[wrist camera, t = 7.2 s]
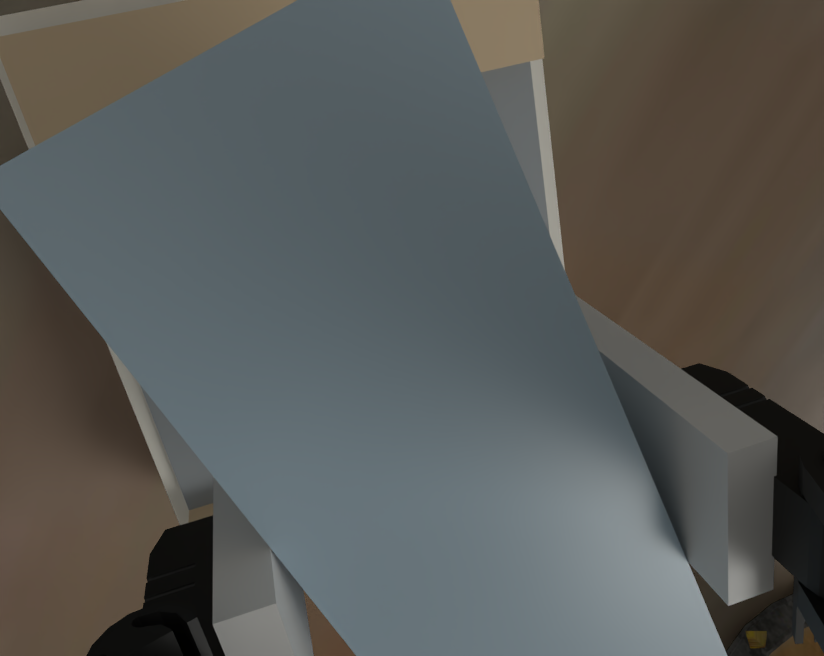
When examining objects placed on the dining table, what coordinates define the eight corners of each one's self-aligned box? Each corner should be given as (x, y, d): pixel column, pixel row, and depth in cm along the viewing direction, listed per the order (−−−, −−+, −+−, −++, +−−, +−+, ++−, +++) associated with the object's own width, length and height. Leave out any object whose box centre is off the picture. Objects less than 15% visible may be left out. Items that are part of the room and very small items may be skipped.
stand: (208, 492, 29) (206, 620, 23) (34, 27, 22) (-42, 18, 16) (522, 396, 32) (602, 487, 25) (457, -55, 24) (547, -93, 18)
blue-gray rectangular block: (446, 642, 19) (538, 884, 13) (82, 122, 12) (-25, 179, 7) (608, 545, 19) (764, 744, 14) (333, -18, 13) (422, -70, 7)
